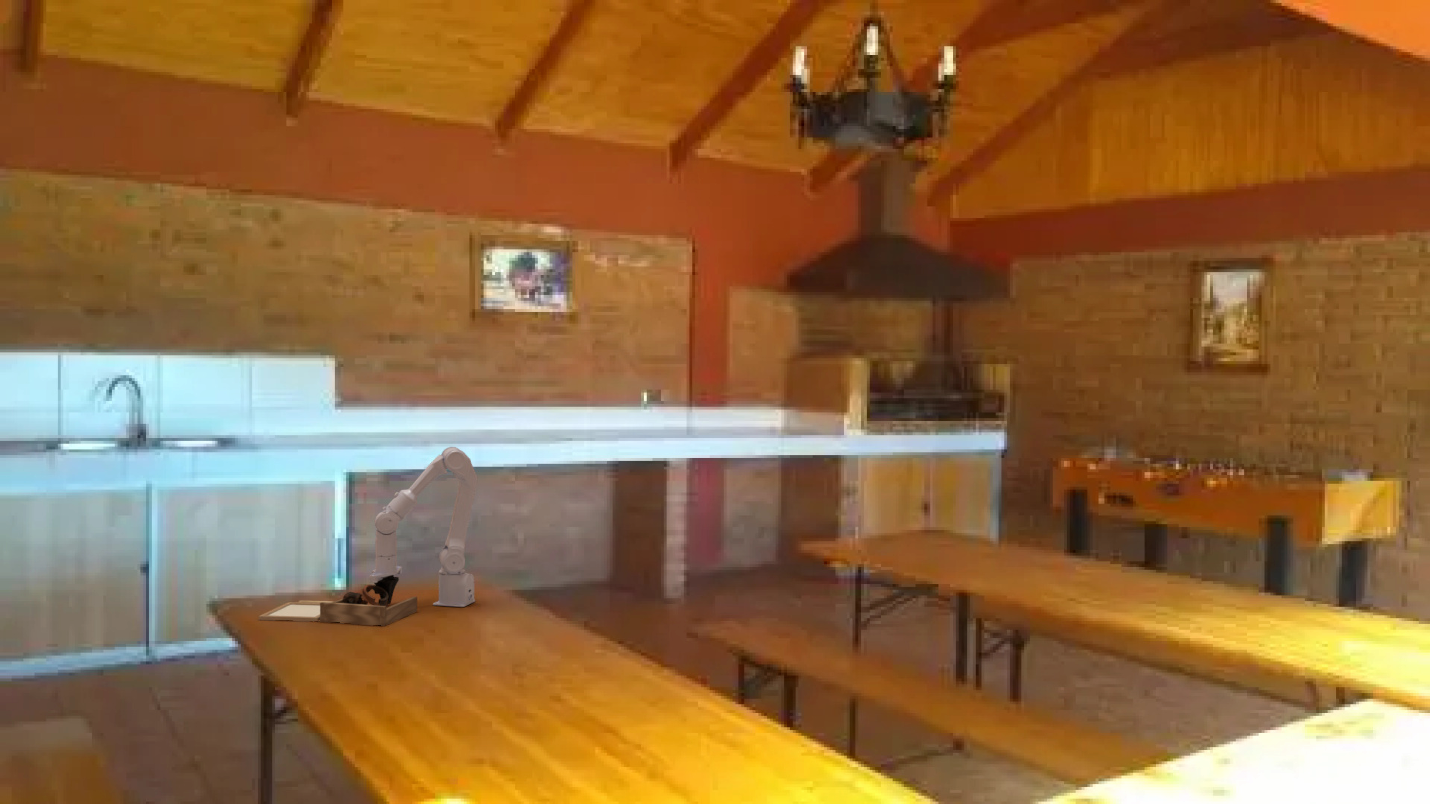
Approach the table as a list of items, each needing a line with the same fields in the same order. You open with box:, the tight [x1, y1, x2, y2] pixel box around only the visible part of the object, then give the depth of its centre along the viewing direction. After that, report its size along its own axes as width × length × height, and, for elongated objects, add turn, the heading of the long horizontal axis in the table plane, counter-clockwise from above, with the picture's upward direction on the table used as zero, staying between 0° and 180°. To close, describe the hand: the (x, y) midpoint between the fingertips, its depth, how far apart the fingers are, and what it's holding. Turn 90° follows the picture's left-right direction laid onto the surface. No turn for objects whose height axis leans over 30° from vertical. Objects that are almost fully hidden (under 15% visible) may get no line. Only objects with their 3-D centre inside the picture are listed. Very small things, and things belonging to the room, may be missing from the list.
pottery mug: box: [342, 584, 389, 607], centre depth 305 cm, size 12×10×8 cm
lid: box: [258, 600, 335, 623], centre depth 304 cm, size 16×20×1 cm
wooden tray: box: [320, 596, 418, 627], centre depth 300 cm, size 18×18×5 cm
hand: (386, 603), depth 311 cm, fingers closed
